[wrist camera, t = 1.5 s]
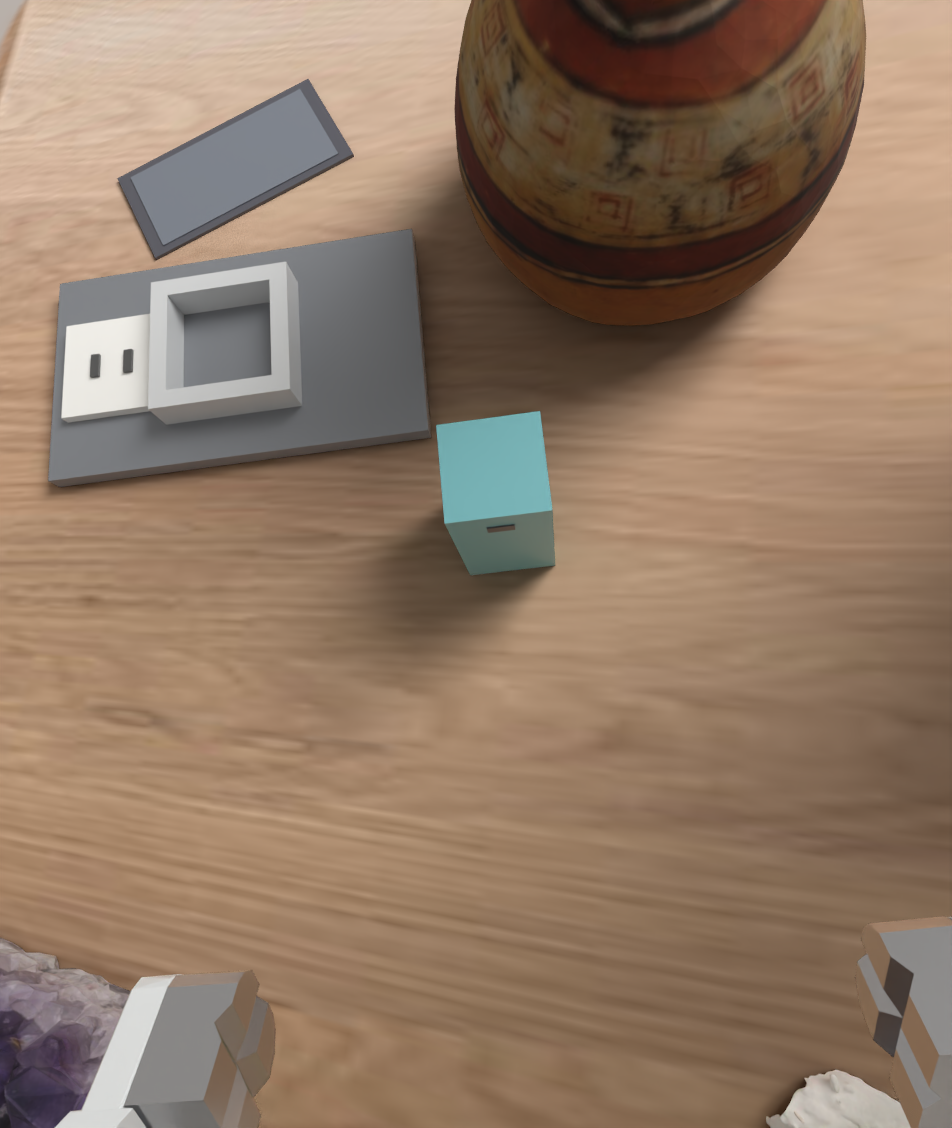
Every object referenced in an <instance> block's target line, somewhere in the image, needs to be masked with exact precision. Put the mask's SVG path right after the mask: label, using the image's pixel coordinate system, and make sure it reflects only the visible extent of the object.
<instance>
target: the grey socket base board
mask: <svg viewBox="0 0 952 1128" xmlns="http://www.w3.org/2000/svg"><path fill="white" fill-rule="evenodd" d="M425 438H431V428H430V416H429V404H428V392H427V380H426V368H425V356H424V344H423V331H422V319H421V307H420V295H419V283H418V271H417V259H416V247H415V238H414V235H413V231H412V229H407V230H401V231H395V232H388V233H382V234H375V235H369V236H363V237H356V238H350V239H344V240H337V241H331V242H324V243H318V244H312V245H305V246H299V247H293V248H286V249H280V250H273V251H267V252H261V253H254V254H248V255H242V256H235V257H229V258H222V259H216V260H210V261H203V262H197V263H191V264H184V265H178V266H171V267H165V268H159V269H152V270H146V271H140V272H133V273H127V274H120V275H114V276H108V277H101V278H95V279H89V280H82V281H76V282H69V283H63V284H60V294H59V311H58V327H57V344H56V361H55V377H54V394H53V410H52V427H51V444H50V460H49V477H48V481H49V482H51V483H53V484H55V485H56V486H58V487H64V486H72V485H79V484H87V483H94V482H102V481H109V480H117V479H124V478H132V477H139V476H147V475H154V474H162V473H169V472H177V471H184V470H192V469H199V468H207V467H214V466H222V465H229V464H237V463H244V462H252V461H259V460H267V459H274V458H282V457H289V456H297V455H305V454H312V453H320V452H327V451H335V450H342V449H350V448H357V447H365V446H372V445H380V444H387V443H395V442H402V441H410V440H417V439H425Z"/></svg>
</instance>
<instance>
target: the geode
mask: <svg viewBox="0 0 952 1128" xmlns="http://www.w3.org/2000/svg"><path fill="white" fill-rule="evenodd" d="M130 992H131V991H128V990H126V989H123V988H121V987H118V986H116V985H113V984H111V983H109V982H107V981H106V980H105V979H104V978H103V977H101V976H100V975H94V974H88V973H87V972H85V971H83V970H81V969H59V965H58V960H57V957H56V956H53V955H48V954H43V953H26V952H25V951H24V950H23V949H22V948H20V947H19V946H17V945H15V944H14V943H12V942H10V941H7V940H5V939H2V938H0V1128H55V1127H56V1126H57V1125H58V1124H59V1123H60V1121H61V1120H62V1119H63V1118H64V1117H65V1116H66V1115H67V1114H68V1113H69V1112H70V1111H77V1110H81V1109H82V1107H83V1104H84V1102H85V1100H86V1097H87V1095H88V1092H89V1090H90V1088H91V1085H92V1083H93V1080H94V1078H95V1076H96V1073H97V1071H98V1068H99V1066H100V1064H101V1061H102V1059H103V1056H104V1054H105V1052H106V1049H107V1047H108V1044H109V1042H110V1040H111V1037H112V1035H113V1032H114V1030H115V1028H116V1025H117V1023H118V1020H119V1018H120V1016H121V1013H122V1011H123V1008H124V1006H125V1004H126V1001H127V999H128V996H129V994H130Z"/></svg>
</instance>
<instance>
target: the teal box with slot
mask: <svg viewBox="0 0 952 1128" xmlns="http://www.w3.org/2000/svg"><path fill="white" fill-rule="evenodd" d="M436 429H437V441H438V453H439V465H440V476H441V488H442V500H443V512H444V523H445V526H446V528H447V530H448V532H449V534H450V536H451V538H452V540H453V542H454V544H455V546H456V548H457V550H458V552H459V554H460V556H461V558H462V560H463V562H464V564H465V566H466V568H467V570H468V572H469V574H470V575H478V574H486V573H495V572H503V571H512V570H520V569H529V568H537V567H546V566H554V565H555V551H554V532H553V512H552V503H551V495H550V487H549V479H548V471H547V463H546V455H545V447H544V439H543V431H542V423H541V415H540V411H537V412H529V413H522V414H514V415H507V416H500V417H492V418H485V419H477V420H470V421H462V422H455V423H448V424H440V425H436Z"/></svg>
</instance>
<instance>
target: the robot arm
mask: <svg viewBox="0 0 952 1128" xmlns="http://www.w3.org/2000/svg"><path fill="white" fill-rule="evenodd" d="M861 941H862V943H863V946H864V948H865V950H866V952H867V954H866V955H865V956H863V957H862V958H861V959H860V960H859V961H857V968H856V977H855V979H856V986H857V993H858V1000H859V1003H860V1006H861V1009H862V1013H863V1016H864V1019H865V1021H866V1024H867V1026H868V1029H869V1031H870V1034H871V1036H872V1038H873V1040H874V1041H875V1042H876V1043H877V1044H878V1045H880V1046H881V1047H882V1048H883V1049H884V1050H885V1051H886V1052H888V1053H889V1054H890V1055H891V1056H892V1057H893V1058H894V1059H893V1064H892V1068H891V1073H890V1077H889V1079H890V1081H891V1083H892V1085H893V1088H894V1090H895V1092H896V1095H897V1097H898V1099H899V1102H900V1104H901V1106H902V1109H903V1111H904V1113H905V1115H906V1118H907V1120H908V1122H909V1125H910V1127H911V1128H952V917H946V916H941V917H931V918H920V919H909V920H899V921H888V922H877V923H868V924H867V925H866V926H865V927H864V928H863V933H862V938H861ZM258 988H259V982H258V980H257V978H256V976H255V974H254V973H253V971H252V970H242V971H228V972H214V973H200V974H186V975H182V974H175V975H163V976H151V977H141V979H140V980H139V981H138V982H137V984H136V985H135V986H134V988H133V989H132V990H131V992H130V994H129V996H128V999H127V1001H126V1004H125V1006H124V1008H123V1011H122V1013H121V1016H120V1018H119V1020H118V1023H117V1025H116V1028H115V1030H114V1032H113V1035H112V1037H111V1040H110V1042H109V1044H108V1047H107V1049H106V1052H105V1054H104V1056H103V1059H102V1061H101V1064H100V1066H99V1068H98V1071H97V1073H96V1076H95V1078H94V1080H93V1083H92V1085H91V1088H90V1090H89V1092H88V1095H87V1097H86V1100H85V1102H84V1104H83V1107H82V1109H81V1110H77V1111H70V1112H69V1113H68V1114H67V1115H66V1116H65V1117H64V1118H63V1119H62V1120H61V1121H60V1123H59V1124H58V1125H57V1126H56V1127H55V1128H258V1126H259V1121H260V1117H261V1114H260V1112H259V1109H258V1106H257V1104H256V1101H255V1099H254V1096H255V1095H256V1094H257V1093H258V1091H259V1090H260V1089H261V1088H262V1087H263V1085H264V1084H265V1083H266V1082H267V1080H268V1079H269V1078H270V1073H271V1068H272V1064H273V1059H274V1054H275V1035H276V1028H275V1022H274V1016H273V1012H272V1010H271V1008H270V1006H269V1003H267V1002H266V1001H264V1000H262V999H261V998H259V997H257V992H258Z"/></svg>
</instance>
